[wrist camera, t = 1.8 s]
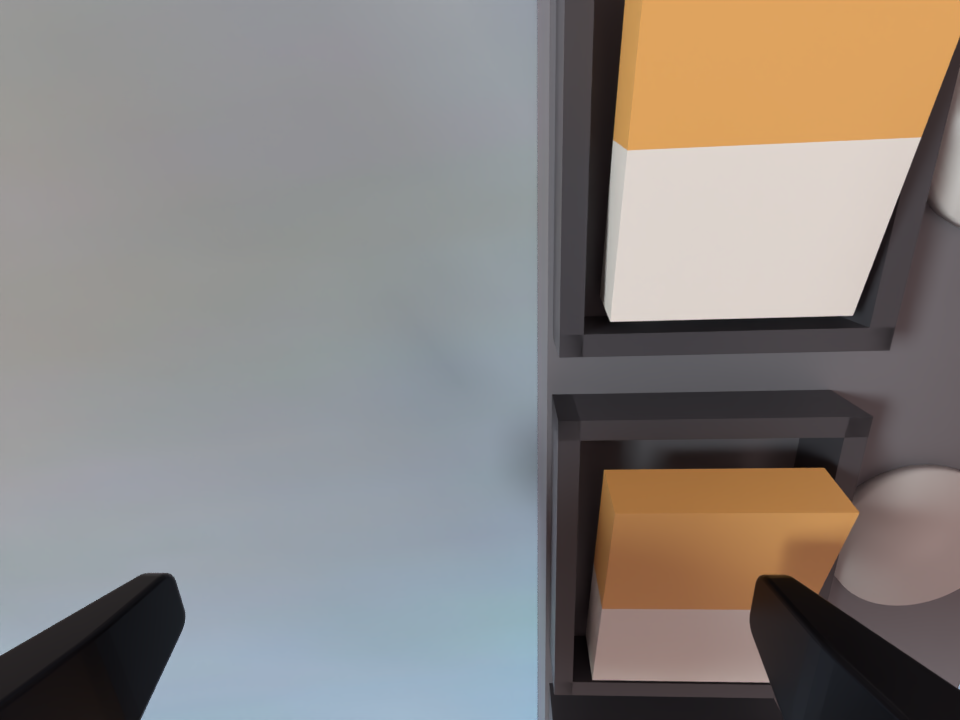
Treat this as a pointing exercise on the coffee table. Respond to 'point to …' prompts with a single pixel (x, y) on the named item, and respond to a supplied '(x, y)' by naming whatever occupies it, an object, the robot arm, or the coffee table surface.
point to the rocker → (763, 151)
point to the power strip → (741, 395)
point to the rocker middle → (702, 565)
